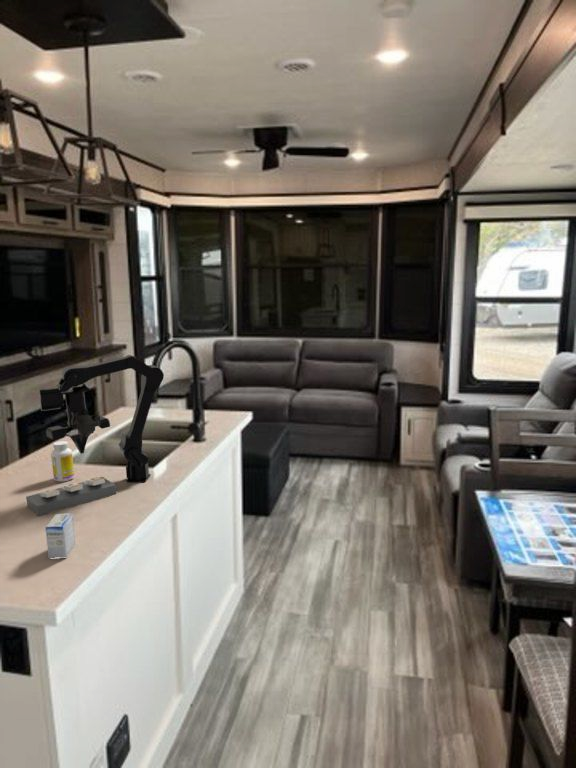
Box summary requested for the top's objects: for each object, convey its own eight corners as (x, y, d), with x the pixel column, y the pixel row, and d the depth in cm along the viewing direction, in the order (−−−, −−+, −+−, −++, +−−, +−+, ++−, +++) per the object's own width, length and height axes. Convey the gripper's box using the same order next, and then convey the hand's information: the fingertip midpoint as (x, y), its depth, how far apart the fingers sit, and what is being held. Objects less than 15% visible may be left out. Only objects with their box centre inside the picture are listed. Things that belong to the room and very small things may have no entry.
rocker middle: (64, 489, 176) (63, 485, 176) (75, 486, 178) (75, 482, 178) (71, 491, 171) (70, 487, 171) (83, 488, 174) (82, 484, 174)
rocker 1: (41, 496, 171) (40, 492, 171) (53, 493, 174) (52, 489, 174) (47, 497, 167) (46, 493, 167) (59, 494, 169) (59, 489, 169)
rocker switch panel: (103, 485, 188) (102, 475, 188) (116, 493, 181) (115, 483, 180) (27, 506, 173) (25, 495, 172) (38, 516, 165) (37, 504, 165)
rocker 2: (86, 484, 181) (85, 480, 180) (97, 481, 183) (96, 477, 183) (93, 485, 176) (93, 481, 176) (105, 482, 178) (104, 478, 178)
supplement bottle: (78, 475, 198) (74, 440, 196) (69, 482, 192) (65, 445, 189) (59, 475, 199) (56, 439, 196) (50, 482, 192) (46, 445, 190)
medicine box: (58, 545, 147) (54, 513, 146) (76, 544, 148) (72, 512, 146) (48, 560, 140) (44, 527, 138) (67, 559, 140) (63, 526, 138)
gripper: (56, 416, 168) (62, 466, 171) (115, 404, 180) (120, 451, 184) (42, 410, 176) (49, 458, 179) (99, 399, 188) (105, 444, 192)
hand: (81, 453), depth 183 cm, fingers closed
